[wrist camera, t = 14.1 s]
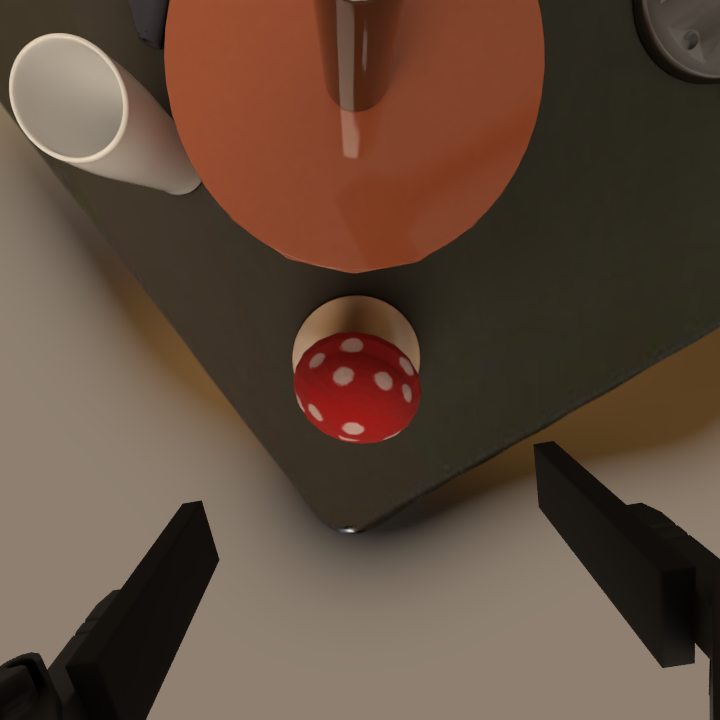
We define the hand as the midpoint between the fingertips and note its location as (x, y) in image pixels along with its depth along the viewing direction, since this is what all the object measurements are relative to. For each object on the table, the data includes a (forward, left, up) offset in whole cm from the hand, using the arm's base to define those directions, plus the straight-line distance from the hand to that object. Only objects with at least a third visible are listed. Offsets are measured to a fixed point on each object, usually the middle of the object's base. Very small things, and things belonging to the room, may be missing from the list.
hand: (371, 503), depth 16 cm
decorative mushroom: (0, 0, -26) cm, 26 cm away
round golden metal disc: (0, 0, -27) cm, 27 cm away
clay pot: (-3, -18, -27) cm, 32 cm away
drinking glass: (+13, -21, -27) cm, 37 cm away
